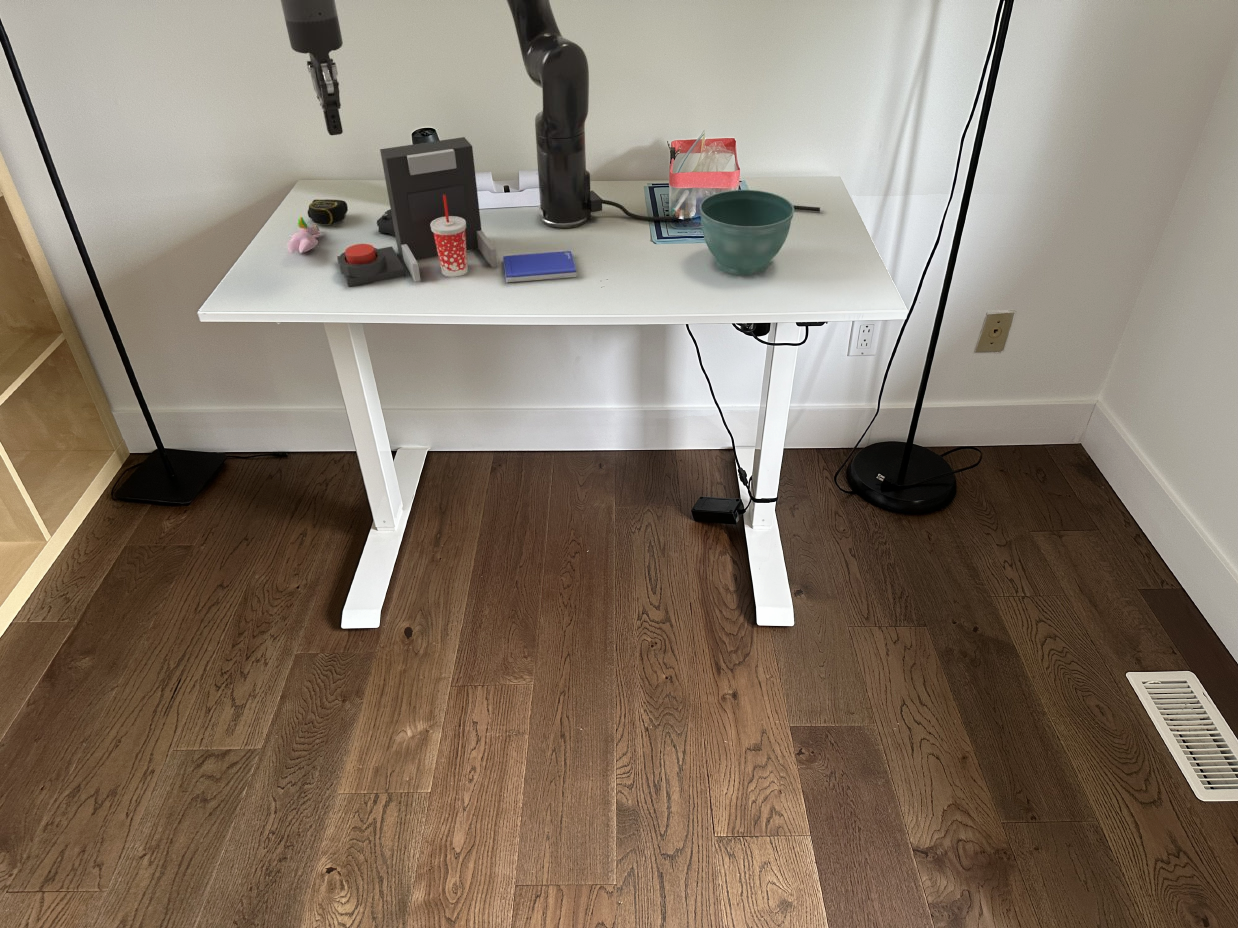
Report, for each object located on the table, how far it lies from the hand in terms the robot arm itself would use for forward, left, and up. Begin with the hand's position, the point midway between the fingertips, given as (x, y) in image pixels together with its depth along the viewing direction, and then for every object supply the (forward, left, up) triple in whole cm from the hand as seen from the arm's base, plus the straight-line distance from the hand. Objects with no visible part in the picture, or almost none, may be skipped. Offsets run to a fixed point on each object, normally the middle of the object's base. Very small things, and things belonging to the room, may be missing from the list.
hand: (335, 133), depth 138 cm
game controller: (-10, -17, -25) cm, 32 cm away
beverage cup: (-15, +5, -25) cm, 30 cm away
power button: (0, 0, -22) cm, 22 cm away
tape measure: (+2, -27, -25) cm, 37 cm away
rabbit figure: (+8, -15, -25) cm, 30 cm away
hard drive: (-29, +11, -25) cm, 40 cm away
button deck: (-2, -2, -25) cm, 25 cm away
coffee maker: (-15, 0, -25) cm, 29 cm away
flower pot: (-63, +24, -25) cm, 72 cm away
